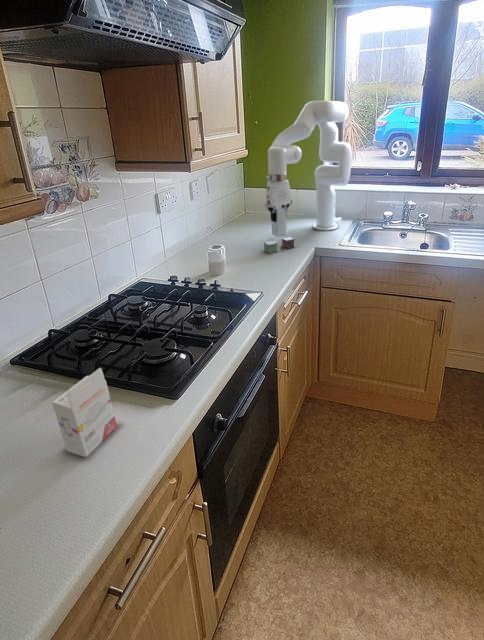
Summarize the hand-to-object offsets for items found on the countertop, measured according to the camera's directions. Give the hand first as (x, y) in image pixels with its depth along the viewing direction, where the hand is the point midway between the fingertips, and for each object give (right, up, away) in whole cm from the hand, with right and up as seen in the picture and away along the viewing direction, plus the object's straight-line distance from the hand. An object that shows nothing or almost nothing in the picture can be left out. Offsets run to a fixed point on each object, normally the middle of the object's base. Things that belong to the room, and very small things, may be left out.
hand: (278, 220), depth 176 cm
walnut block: (+4, -11, +7) cm, 14 cm away
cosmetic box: (0, -7, +3) cm, 7 cm away
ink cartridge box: (-38, -55, -97) cm, 118 cm away
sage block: (-3, -14, +3) cm, 14 cm away
